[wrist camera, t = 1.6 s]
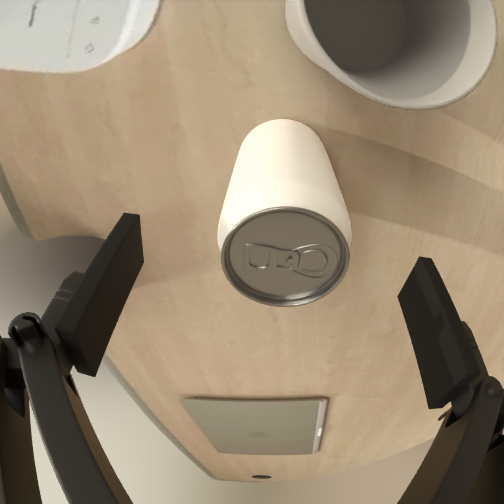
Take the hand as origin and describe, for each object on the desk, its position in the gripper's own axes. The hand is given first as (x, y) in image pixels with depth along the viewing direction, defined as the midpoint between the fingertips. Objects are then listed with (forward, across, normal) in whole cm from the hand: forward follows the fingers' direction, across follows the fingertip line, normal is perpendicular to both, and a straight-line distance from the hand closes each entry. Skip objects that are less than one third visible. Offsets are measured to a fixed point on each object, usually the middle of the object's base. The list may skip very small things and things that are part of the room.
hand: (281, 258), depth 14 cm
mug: (+12, +1, +12) cm, 17 cm away
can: (+12, 0, 0) cm, 12 cm away
